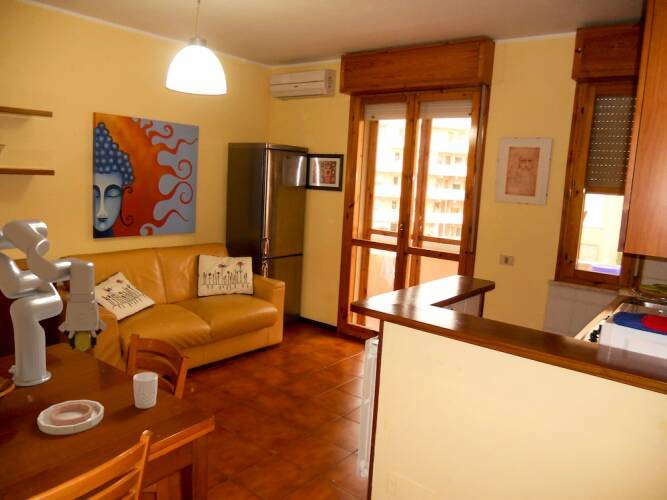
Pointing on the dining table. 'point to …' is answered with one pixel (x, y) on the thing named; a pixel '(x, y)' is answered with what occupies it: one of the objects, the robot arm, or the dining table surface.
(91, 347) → the robot arm
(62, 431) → the fruit dish
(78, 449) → the dining table surface
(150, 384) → the white cup
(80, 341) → the lemon
